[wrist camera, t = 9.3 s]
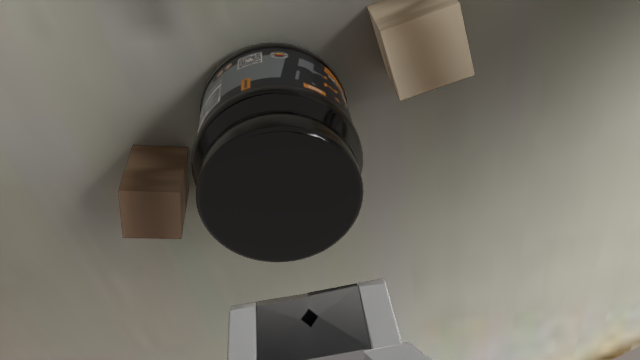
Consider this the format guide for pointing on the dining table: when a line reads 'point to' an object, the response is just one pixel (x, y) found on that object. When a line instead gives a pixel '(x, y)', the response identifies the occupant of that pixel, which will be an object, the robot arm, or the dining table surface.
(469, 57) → the beech block
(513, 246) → the dining table surface
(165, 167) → the walnut block
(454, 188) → the dining table surface
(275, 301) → the robot arm
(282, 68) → the supplement container
